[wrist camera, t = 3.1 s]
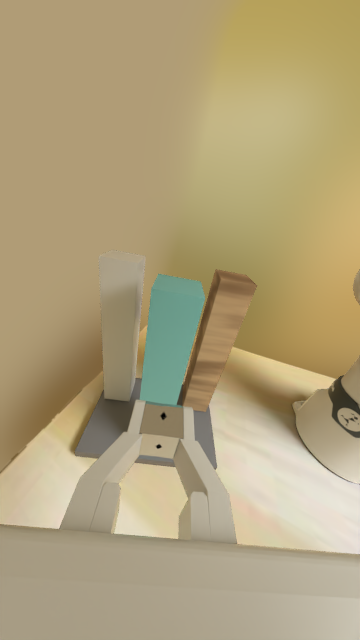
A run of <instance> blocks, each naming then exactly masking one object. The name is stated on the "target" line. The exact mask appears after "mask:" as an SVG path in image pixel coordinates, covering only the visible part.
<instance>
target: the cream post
mask: <svg viewBox="0 0 360 640" xmlns="http://www.w3.org/2000/svg"><path fill="white" fill-rule="evenodd" d="M144 268H145V256H143V255H138V254H132V253H127V252H121V251H117V250H111V251H108V252H107V253H104V254H102V255H100V256H99V275H100V300H101V325H102V349H103V350H102V351H103V375H104V398H106V399H113V400H120V401H128V402H129V401H130V398H131V394H132V391H133V388H134V384H135V377H136V365H137V353H138V341H139V329H140V316H141V305H142V292H143V280H144Z"/></svg>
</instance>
